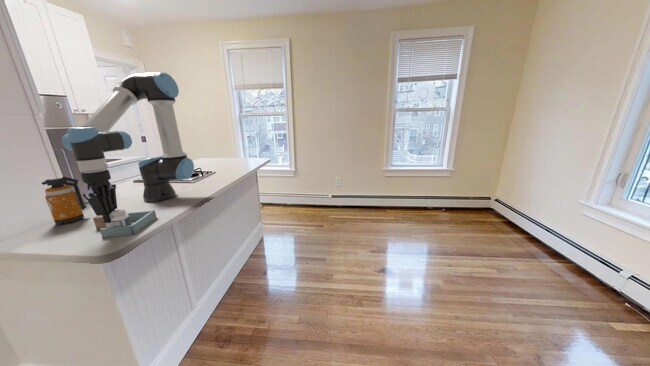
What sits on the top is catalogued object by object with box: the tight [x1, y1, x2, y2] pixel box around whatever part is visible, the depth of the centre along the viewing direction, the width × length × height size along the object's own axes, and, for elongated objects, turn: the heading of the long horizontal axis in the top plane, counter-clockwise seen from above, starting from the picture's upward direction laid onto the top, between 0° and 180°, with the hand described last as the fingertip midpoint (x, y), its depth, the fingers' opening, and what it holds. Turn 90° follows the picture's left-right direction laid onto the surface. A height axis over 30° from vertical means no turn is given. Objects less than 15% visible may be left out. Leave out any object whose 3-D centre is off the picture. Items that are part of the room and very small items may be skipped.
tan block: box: [92, 215, 107, 230], centre depth 97 cm, size 5×5×5 cm
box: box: [99, 209, 157, 239], centre depth 95 cm, size 16×11×4 cm
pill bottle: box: [112, 208, 133, 227], centre depth 90 cm, size 5×5×9 cm
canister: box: [41, 176, 88, 225], centre depth 102 cm, size 9×11×20 cm
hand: (112, 228), depth 91 cm, fingers closed
